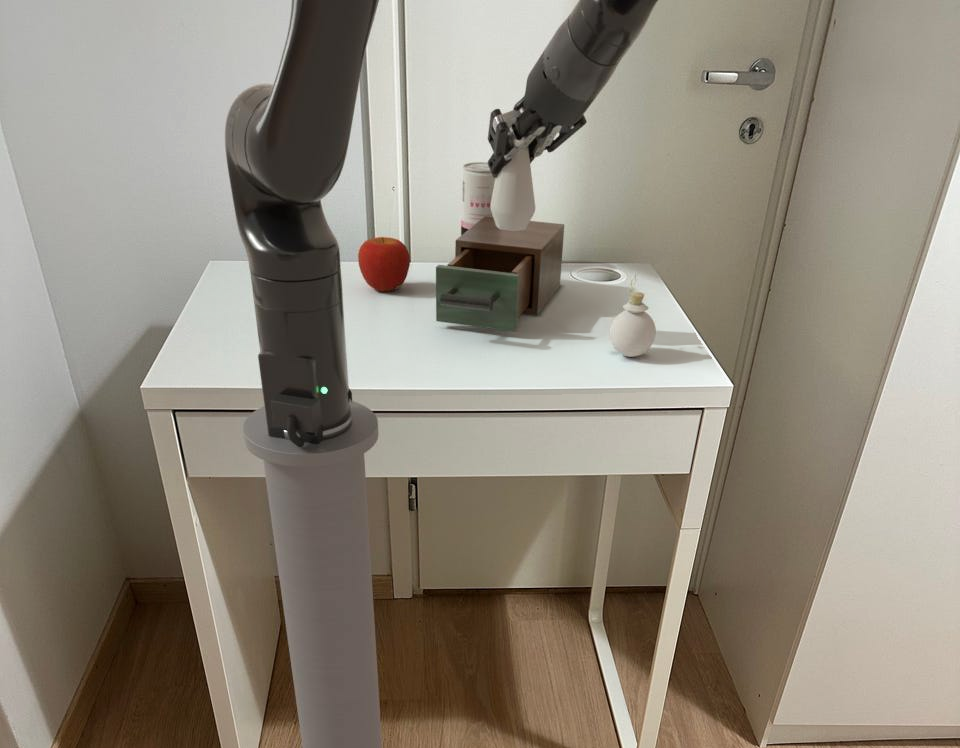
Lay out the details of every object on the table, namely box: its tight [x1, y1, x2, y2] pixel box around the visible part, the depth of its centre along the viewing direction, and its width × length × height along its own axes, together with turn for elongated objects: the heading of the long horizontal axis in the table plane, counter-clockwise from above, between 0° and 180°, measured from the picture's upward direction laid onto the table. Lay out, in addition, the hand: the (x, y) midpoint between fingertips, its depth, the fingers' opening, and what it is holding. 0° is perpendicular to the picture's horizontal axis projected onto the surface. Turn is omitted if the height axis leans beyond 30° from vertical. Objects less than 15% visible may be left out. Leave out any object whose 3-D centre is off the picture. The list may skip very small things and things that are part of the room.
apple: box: [357, 236, 411, 293], centre depth 140 cm, size 8×8×8 cm
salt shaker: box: [490, 138, 536, 231], centre depth 115 cm, size 6×6×13 cm
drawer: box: [435, 248, 535, 332], centre depth 128 cm, size 19×12×7 cm, turn 163°
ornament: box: [609, 274, 657, 358], centre depth 120 cm, size 6×7×10 cm
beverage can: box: [460, 161, 495, 236], centre depth 149 cm, size 7×7×15 cm
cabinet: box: [454, 216, 565, 316], centre depth 138 cm, size 15×13×9 cm
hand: (504, 169), depth 116 cm, fingers closed on salt shaker, 3 cm apart
